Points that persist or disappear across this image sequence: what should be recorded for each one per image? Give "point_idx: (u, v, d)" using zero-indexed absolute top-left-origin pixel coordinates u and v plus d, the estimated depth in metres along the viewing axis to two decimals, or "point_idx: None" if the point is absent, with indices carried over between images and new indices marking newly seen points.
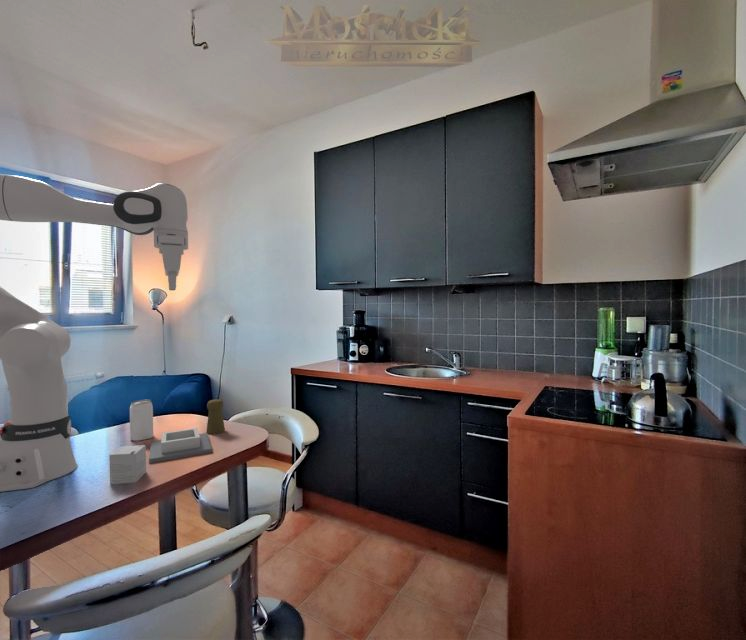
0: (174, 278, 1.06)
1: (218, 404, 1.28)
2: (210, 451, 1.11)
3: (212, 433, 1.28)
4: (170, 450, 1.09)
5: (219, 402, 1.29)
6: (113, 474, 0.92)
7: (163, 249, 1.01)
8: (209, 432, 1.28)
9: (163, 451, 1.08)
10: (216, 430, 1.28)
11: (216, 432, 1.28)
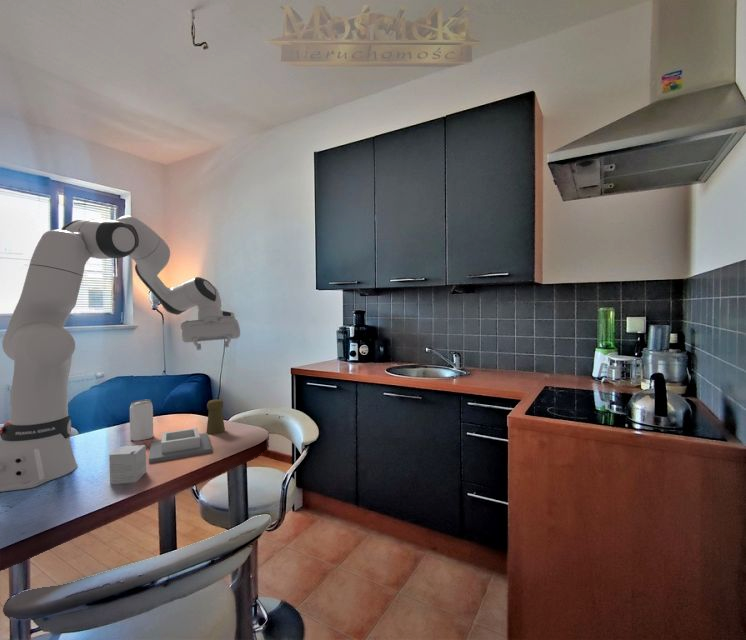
0: None
1: (218, 404, 1.28)
2: (210, 451, 1.11)
3: (212, 433, 1.28)
4: (170, 450, 1.09)
5: (219, 402, 1.29)
6: (113, 474, 0.92)
7: None
8: (209, 432, 1.28)
9: (163, 451, 1.08)
10: (216, 430, 1.28)
11: (216, 432, 1.28)
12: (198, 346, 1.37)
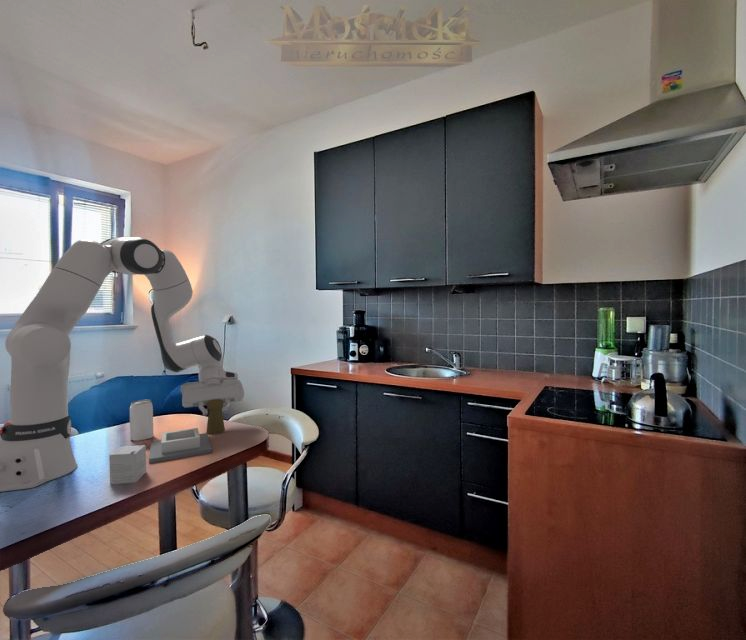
0: (228, 405, 1.34)
1: (218, 404, 1.28)
2: (210, 451, 1.11)
3: (212, 433, 1.28)
4: (170, 450, 1.09)
5: (219, 402, 1.29)
6: (113, 474, 0.92)
7: None
8: (209, 432, 1.28)
9: (163, 451, 1.08)
10: (216, 430, 1.28)
11: (216, 432, 1.28)
12: (205, 412, 1.28)
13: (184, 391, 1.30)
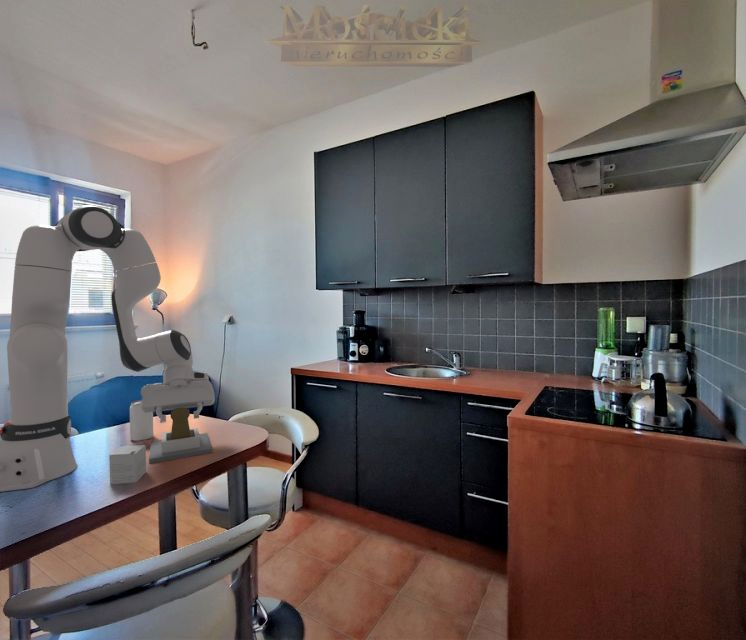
0: (201, 409, 1.19)
1: (183, 412, 1.13)
2: (210, 451, 1.11)
3: None
4: (170, 450, 1.09)
5: (184, 411, 1.14)
6: (113, 474, 0.92)
7: (211, 384, 1.23)
8: None
9: (163, 451, 1.08)
10: None
11: None
12: (162, 418, 1.12)
13: (144, 394, 1.14)
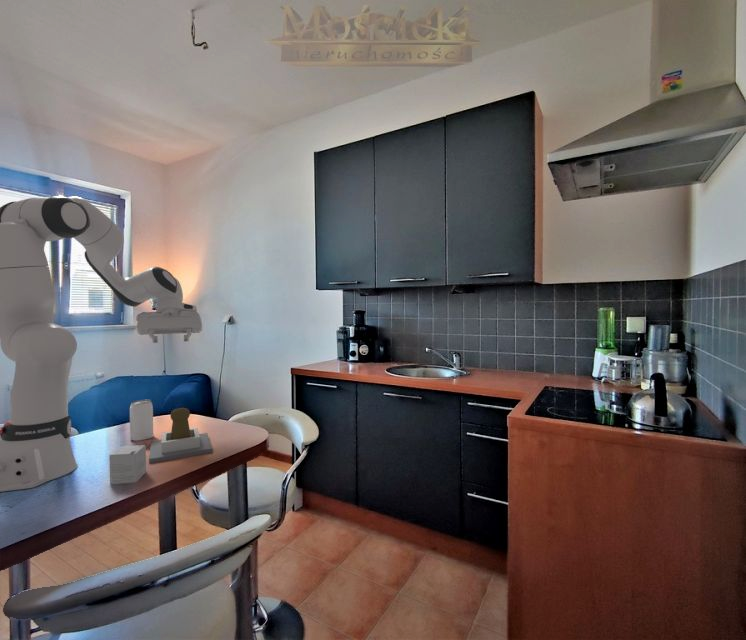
0: (190, 335, 1.35)
1: (183, 413, 1.13)
2: (210, 451, 1.11)
3: None
4: (170, 450, 1.09)
5: (184, 411, 1.13)
6: (113, 474, 0.92)
7: (199, 315, 1.39)
8: None
9: (163, 451, 1.08)
10: None
11: None
12: (154, 338, 1.27)
13: (139, 318, 1.30)
